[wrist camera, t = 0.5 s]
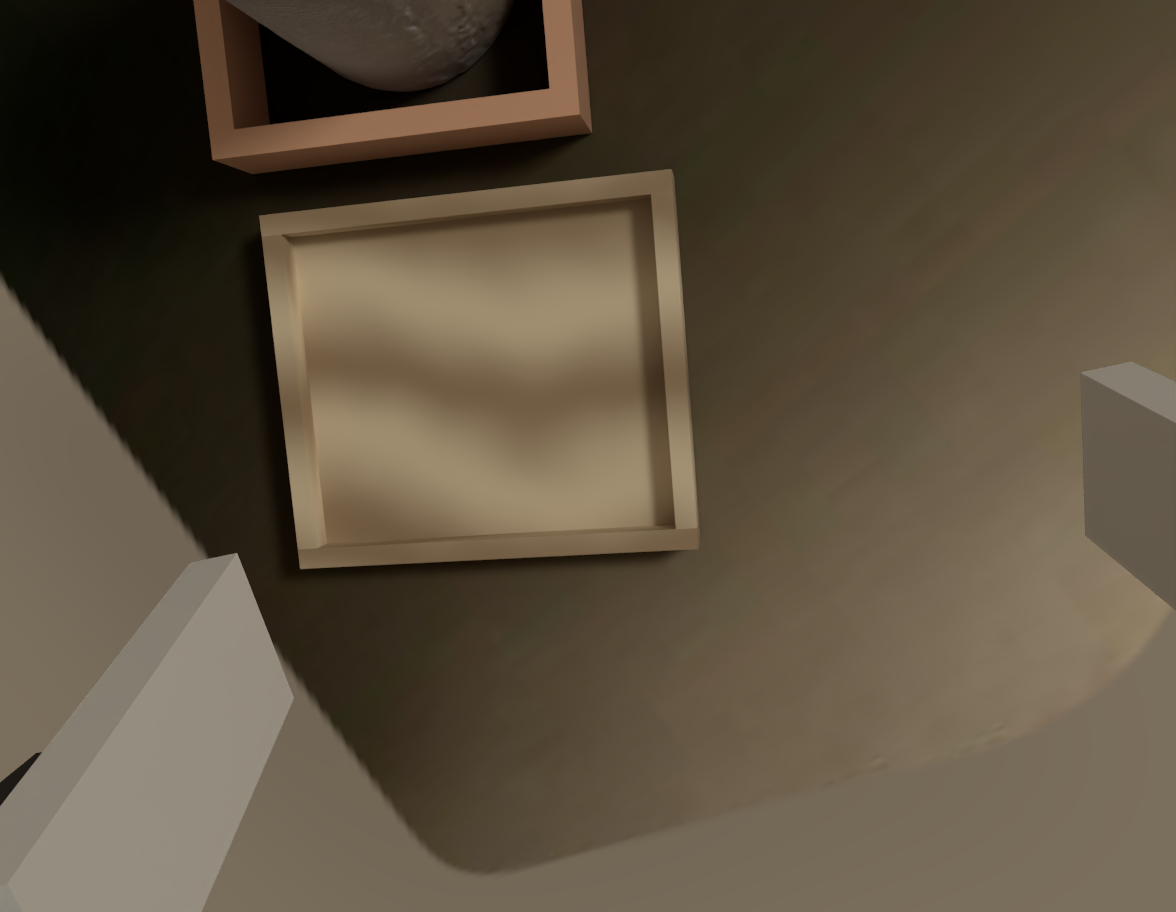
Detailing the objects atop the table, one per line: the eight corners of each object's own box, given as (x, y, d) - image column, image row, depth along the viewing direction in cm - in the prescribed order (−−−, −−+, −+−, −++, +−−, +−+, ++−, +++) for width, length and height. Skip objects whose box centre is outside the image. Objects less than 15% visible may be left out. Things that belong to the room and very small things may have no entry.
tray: (280, 221, 39) (259, 215, 37) (674, 177, 36) (671, 169, 34) (319, 559, 40) (300, 569, 38) (700, 539, 38) (698, 549, 36)
